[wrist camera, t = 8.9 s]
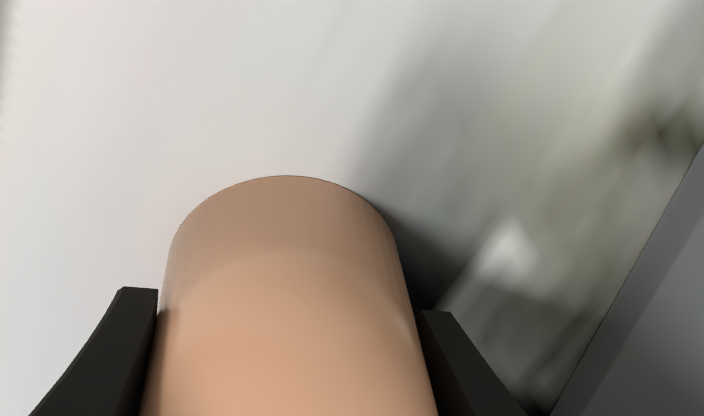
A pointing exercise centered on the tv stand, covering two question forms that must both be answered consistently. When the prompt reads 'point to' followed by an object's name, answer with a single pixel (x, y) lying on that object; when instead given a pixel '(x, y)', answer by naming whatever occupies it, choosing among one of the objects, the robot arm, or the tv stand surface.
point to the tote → (652, 324)
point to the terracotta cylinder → (285, 310)
